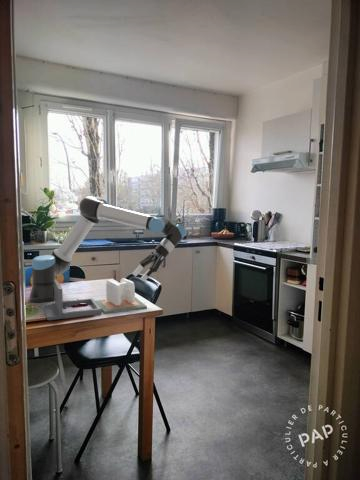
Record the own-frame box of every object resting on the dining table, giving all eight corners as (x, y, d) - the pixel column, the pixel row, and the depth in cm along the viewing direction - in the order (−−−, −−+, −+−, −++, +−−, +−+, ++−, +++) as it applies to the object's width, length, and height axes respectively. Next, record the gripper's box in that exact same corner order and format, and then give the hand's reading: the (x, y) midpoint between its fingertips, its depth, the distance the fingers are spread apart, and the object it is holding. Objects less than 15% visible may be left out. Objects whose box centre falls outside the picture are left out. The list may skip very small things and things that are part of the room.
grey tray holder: (43, 307, 173) (43, 280, 172) (92, 302, 184) (92, 277, 183) (47, 320, 155) (47, 290, 154) (101, 313, 166) (101, 285, 164)
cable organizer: (135, 304, 178) (136, 282, 177) (117, 308, 172) (117, 285, 171) (123, 298, 190) (123, 277, 189) (105, 300, 184) (105, 279, 183)
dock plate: (95, 302, 184) (95, 300, 184) (134, 298, 194) (134, 296, 194) (104, 313, 167) (104, 311, 167) (146, 308, 176) (146, 306, 176)
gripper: (178, 256, 178) (151, 287, 173) (160, 250, 200) (135, 277, 195) (169, 246, 175) (141, 277, 170) (151, 241, 197) (126, 268, 192)
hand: (137, 277), depth 183 cm, fingers open, 13 cm apart
